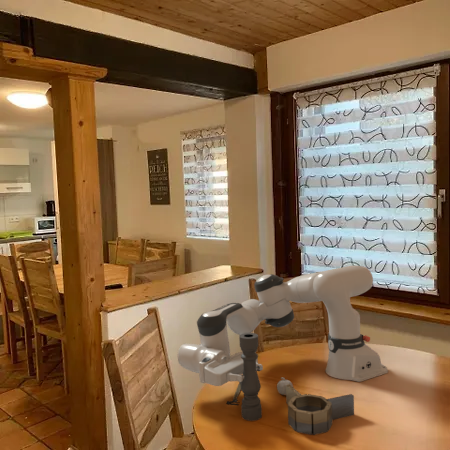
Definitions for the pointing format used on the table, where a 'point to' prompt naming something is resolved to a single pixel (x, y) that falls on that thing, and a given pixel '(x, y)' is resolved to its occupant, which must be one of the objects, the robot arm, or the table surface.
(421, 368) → the table surface
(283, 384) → the garlic
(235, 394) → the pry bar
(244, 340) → the candle holder
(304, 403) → the octagonal collar with flanges
